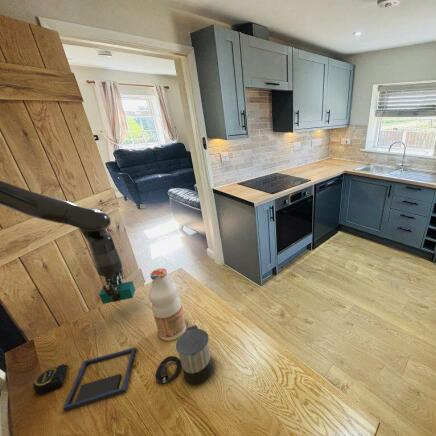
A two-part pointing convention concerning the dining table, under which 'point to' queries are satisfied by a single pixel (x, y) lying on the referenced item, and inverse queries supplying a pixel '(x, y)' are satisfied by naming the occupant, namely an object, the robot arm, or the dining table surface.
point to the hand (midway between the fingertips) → (119, 295)
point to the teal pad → (124, 290)
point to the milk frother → (190, 358)
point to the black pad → (98, 387)
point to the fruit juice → (166, 306)
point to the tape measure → (50, 379)
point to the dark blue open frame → (70, 405)
